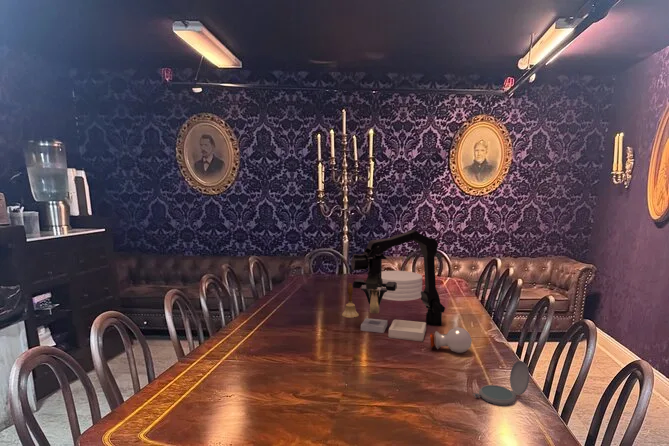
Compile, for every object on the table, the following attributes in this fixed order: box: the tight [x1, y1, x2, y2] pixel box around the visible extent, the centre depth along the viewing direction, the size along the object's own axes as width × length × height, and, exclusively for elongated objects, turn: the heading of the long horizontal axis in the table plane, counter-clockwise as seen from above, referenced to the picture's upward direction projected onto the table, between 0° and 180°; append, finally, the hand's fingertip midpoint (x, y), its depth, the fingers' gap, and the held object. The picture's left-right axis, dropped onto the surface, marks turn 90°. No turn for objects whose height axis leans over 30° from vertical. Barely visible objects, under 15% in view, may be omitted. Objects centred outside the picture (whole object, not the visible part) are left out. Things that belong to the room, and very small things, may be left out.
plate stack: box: [377, 270, 423, 302], centre depth 243 cm, size 28×28×12 cm
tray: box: [388, 319, 427, 342], centre depth 176 cm, size 14×14×4 cm
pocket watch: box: [472, 360, 530, 406], centre depth 122 cm, size 10×11×15 cm
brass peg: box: [369, 289, 380, 314], centre depth 183 cm, size 4×4×10 cm
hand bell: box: [341, 282, 359, 319], centre depth 202 cm, size 8×8×16 cm
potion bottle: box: [429, 326, 473, 354], centre depth 158 cm, size 9×10×15 cm
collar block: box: [360, 317, 388, 334], centre depth 184 cm, size 10×10×2 cm
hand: (374, 304), depth 183 cm, fingers closed on brass peg, 4 cm apart
